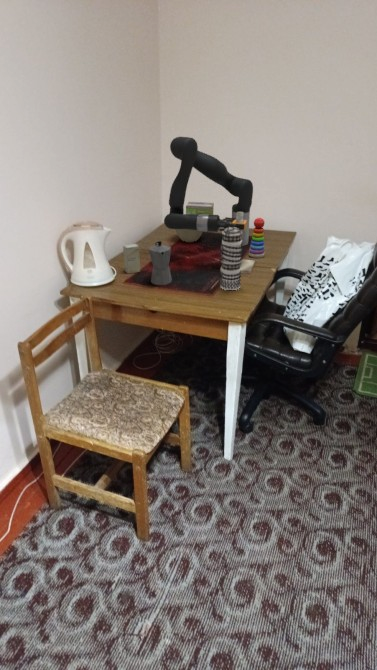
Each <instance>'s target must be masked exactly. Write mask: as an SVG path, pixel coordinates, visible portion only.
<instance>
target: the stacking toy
mask: <svg viewBox="0 0 377 670" xmlns="http://www.w3.org/2000/svg"><path fill="white" fill-rule="evenodd" d="M264 226H265V220H264V219H263V218H262V217H256V218H255V219H254V221H253V227H254V228H253V232H252V233H251V234H252V237H251V241H250V245H249V248H248V249H249V252H248V256H249V257H250V258H255V259H260V258H264V257H265V255H266V254H265V236H264V235H265V234H264V231H265V230H264Z"/></svg>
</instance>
